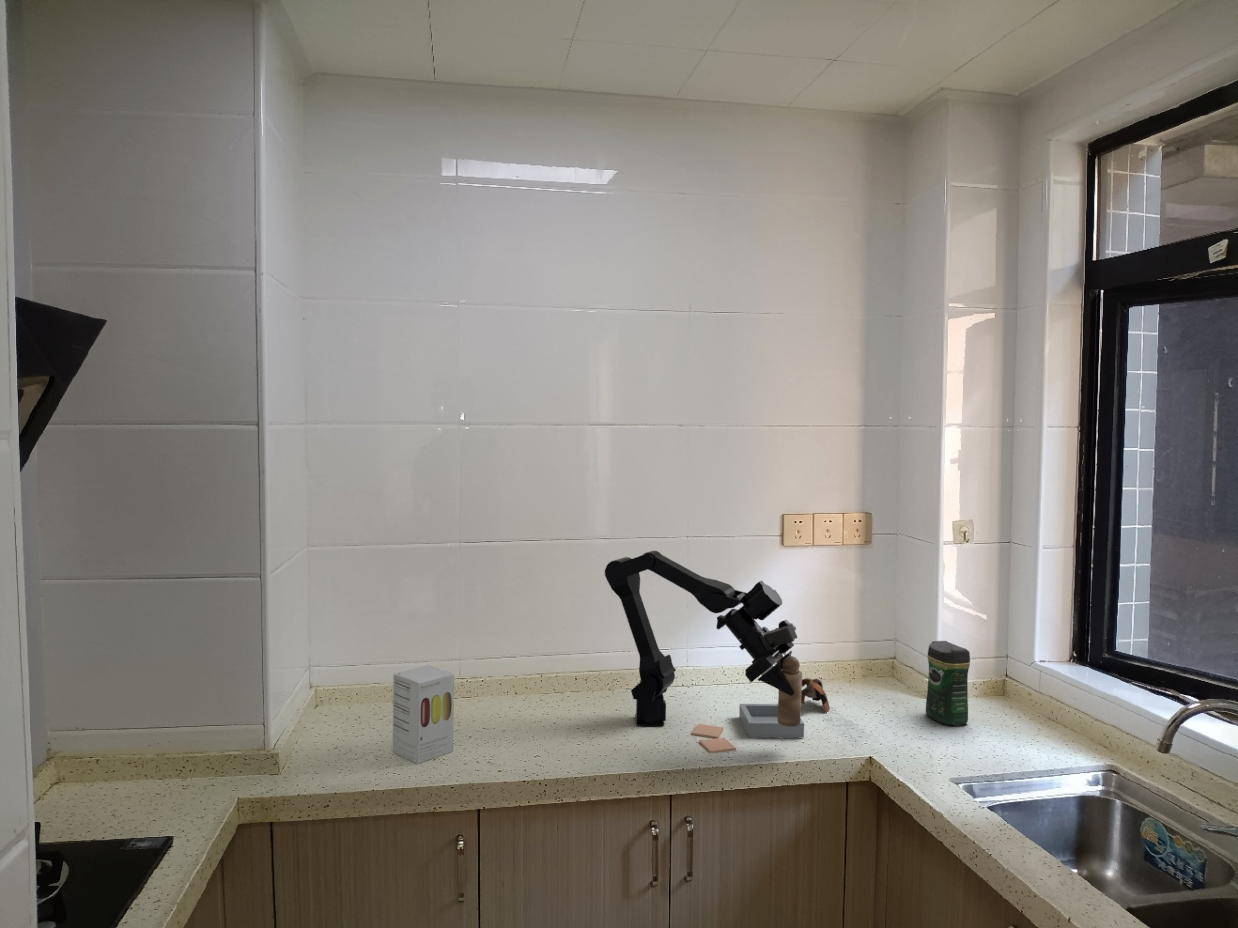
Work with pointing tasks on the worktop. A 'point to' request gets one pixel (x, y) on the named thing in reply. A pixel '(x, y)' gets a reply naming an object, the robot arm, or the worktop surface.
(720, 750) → the tile
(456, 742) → the worktop surface
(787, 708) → the pepper mill
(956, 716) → the coffee jar
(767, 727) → the tray
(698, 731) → the tile
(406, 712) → the supplement box
